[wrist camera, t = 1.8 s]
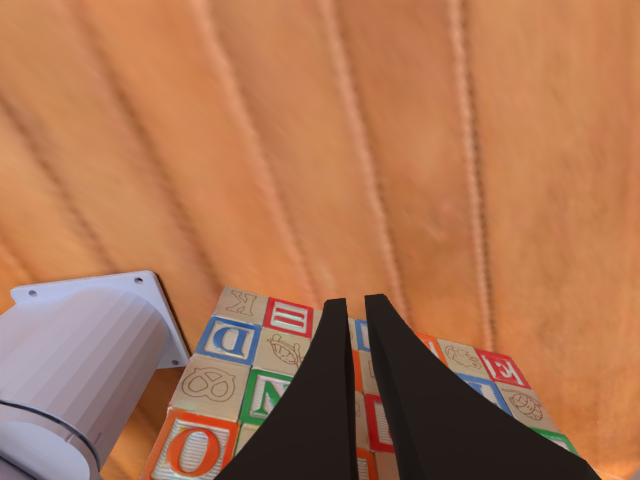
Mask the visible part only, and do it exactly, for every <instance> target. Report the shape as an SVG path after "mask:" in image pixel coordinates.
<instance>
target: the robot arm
mask: <svg viewBox="0 0 640 480" xmlns="http://www.w3.org/2000/svg"><path fill="white" fill-rule="evenodd" d="M138 278H141V279H142V280H143V281H140V280H139V279H138ZM10 294H11V296H12V298H13V299H14V301H15V302H16V304H15V305H14V306H13V307H11V308H10V309H9V310H8V311H6V312H5V313H4V314H2V315H1V316H0V480H104V479H103V478H102V477H101V476H100V474H99V473H100V471H101V469H102V467H103V465H104V464H105V462H106V460H107V458H108V456H109V454H110V453H111V451H112V449H113V447H114V445H115V443H116V442H117V440H118V438H119V436H120V434H121V432H122V431H123V429H124V427H125V425H126V423H127V421H128V420H129V418H130V416H131V414H132V412H133V410H134V409H135V407H136V405H137V403H138V401H139V399H140V398H141V396H142V394H143V392H144V390H145V388H146V387H147V385H148V383H149V381H150V379H151V377H152V376H153V374H154V372H155V370H156V369H164V368H174V367H183V366H187V364H188V362H189V360H190V355H189V353H188V350H187V348H186V346H185V343H184V341H183V338H182V336H181V334H180V331H179V329H178V326H177V324H176V322H175V319H174V317H173V315H172V312H171V310H170V307H169V305H168V303H167V300H166V298H165V295H164V293H163V291H162V288H161V286H160V283H159V281H158V279H157V276H156V275H155V273H153V272H152V271H147V270H145V271H137V272H129V273H121V274H112V275H104V276H96V277H88V278H80V279H71V280H63V281H55V282H47V283H38V284H30V285H22V286H17V287H15V288H13V289H12V290H11V292H10ZM364 297H365V307H366V318H367V328H368V339H369V347H370V353H371V359H372V365H373V371H374V375H375V379H376V382H377V386H378V390H379V394H380V397H381V401H382V405H383V408H384V412H385V416H386V419H387V423H388V427H389V430H390V434H391V438H392V442H393V447H394V451H395V456H396V461H397V467H398V472H399V478H400V480H602V479H601V478H600V477H599V476H598V475H597V473H596V472H595V471H594V470H593V469H592V468H591V466H590V465H589V464H588V463H587V461H586V460H584V459H582V458H581V457H579V456H577V455H575V454H574V453H572V452H570V451H568V450H567V449H565V448H563V447H561V446H560V445H558V444H556V443H554V442H553V441H551V440H549V439H547V438H546V437H544V436H542V435H540V434H539V433H537V432H535V431H534V430H532V429H530V428H529V427H527V426H526V425H524V424H523V423H521V422H520V421H518V420H517V419H515V418H513V417H512V416H510V415H509V414H508V413H506V412H505V411H503V410H502V409H501V408H499V407H498V406H496V405H495V404H494V403H492V402H491V401H490V400H488V399H487V398H485V397H484V396H483V395H481V394H480V393H478V392H477V391H476V390H475V389H473V388H472V387H471V386H470V385H468V384H467V383H466V382H465V381H463V380H462V379H461V378H460V377H459V376H458V375H456V374H455V373H454V372H453V371H452V370H451V369H449V368H448V367H447V366H446V365H445V364H444V363H443V362H442V361H441V360H440V359H439V358H438V357H437V356H436V355H435V354H434V353H433V352H432V351H431V350H430V349H429V348H428V347H427V346H426V345H425V344H424V343H423V342H422V341H421V340H420V339H419V338H418V337H417V336H416V334H415V333H414V332H413V331H412V330H411V329H410V328H409V326H408V325H407V324H406V323H405V322H404V320H403V319H402V318H401V317H400V315H399V314H398V313H397V311H396V310H395V309H394V307H393V306H392V304H391V303H390V301H389V300H388V298H387V296H385V295H384V294H375V295H366V296H364ZM176 360H177V361H176ZM213 480H359V471H358V461H357V448H356V410H355V371H354V362H353V354H352V346H351V338H350V330H349V322H348V314H347V306H346V298H340V299H331V300H327V301H326V302H325V303H324V308H323V312H322V315H321V319H320V321H319V324H318V327H317V330H316V332H315V335H314V337H313V339H312V342H311V344H310V346H309V349H308V351H307V353H306V355H305V357H304V359H303V361H302V363H301V365H300V367H299V368H298V370H297V372H296V374H295V376H294V377H293V379H292V381H291V382H290V384H289V386H288V387H287V389H286V390H285V392H284V394H283V395H282V397H281V398H280V399H279V401H278V402H277V404H276V405H275V407H274V408H273V410H272V411H271V412H270V414H269V415H268V416H267V418H266V419H265V420H264V422H263V423H262V424H261V426H260V427H259V428H258V429H257V430H256V432H255V433H254V434H253V435H252V437H251V438H250V439H249V440H248V441H247V443H246V444H245V445H244V446H243V447H242V449H241V450H240V451H239V452H238V453H237V454H236V456H235V457H234V458H233V459H232V460H231V461H230V462H229V463H228V464H227V465H226V466H225V467H224V468H223V469H222V470H221V471H220V473H219V474H218V475H217V476H216V477H215V478H214V479H213Z"/></svg>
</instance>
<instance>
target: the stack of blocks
mask: <svg viewBox="0 0 640 480" xmlns="http://www.w3.org/2000/svg"><path fill="white" fill-rule="evenodd" d="M322 312H323V311H320V310H315V309H313V308H311V307H307V306H303V305H299V304H295V303H291V302H287V301H283V300H279V299H275V298H271V297H267V296H264V295H260V294H256V293H252V292H248V291H244V290H240V289H236V288H232V287H227V286H225V287H224V288H223V290H222V293H221V295H220V297H219V300H218V302H217V303H216V306H215V308H214V310H213V313H212V316H211V318H210V320H209V322H208V324H207V326H206V328H205V330H204V332H203V335H202V337H201V339H200V341H199V343H198V345H197V347H196V349H195V351H194V354H193V356H191V358H190V360H189V362H188V364H187V366H186V368H185V369H184V372H183V375H182V377H181V379H180V381H179V383H178V385H177V387H176V389H175V391H174V393H173V396H172V398H171V400H170V403H169V405H168V408H167V413H166V420H165V422H164V424H163V426H162V429H161V431H160V433H159V435H158V437H157V440H156V442H155V444H154V446H153V448H152V450H151V453H150V455H149V457H148V459H147V461H146V463H145V466H144V468H143V470H142V472H141V474H140V477H139V479H138V480H213V479H214V478H215V477H216V476H217V475H218V474H219V473H220V471H221V470H222V469H223V468H224V467H225V466H226V465H227V464H228V463H229V462H230V461H231V460H232V459H233V458H234V457H235V456H236V454H237V453H238V452H239V451H240V450H241V449H242V447H243V446H244V445H245V444H246V443H247V441H248V440H249V439H250V438H251V437H252V435H253V434H254V433H255V432H256V430H257V429H258V428H259V427H260V426H261V424H262V423H263V422H264V420H265V419H266V418H267V416H268V415H269V414H270V412H271V411H272V410H273V408H274V407H275V405H276V404H277V402H278V401H279V399H280V398H281V397H282V395H283V394H284V392H285V390H286V389H287V387H288V386H289V384H290V382H291V381H292V379H293V377H294V376H295V374H296V372H297V370H298V368H299V367H300V365H301V363H302V361H303V359H304V357H305V355H306V353H307V351H308V349H309V346H310V344H311V342H312V339H313V337H314V335H315V332H316V330H317V327H318V324H319V321H320V319H321V315H322ZM348 322H349V330H350V338H351V346H352V354H353V362H354V371H355V410H356V448H357V461H358V471H359V480H400V478H399V472H398V467H397V461H396V456H395V451H394V447H393V442H392V438H391V434H390V430H389V427H388V423H387V419H386V416H385V412H384V408H383V405H382V401H381V397H380V394H379V390H378V386H377V382H376V379H375V375H374V371H373V365H372V359H371V353H370V347H369V339H368V328H367V322H366V321H362V320H359V319H352V318H349V317H348ZM414 333H415V332H414ZM415 334H416V336H417V337H418V338H419V339H420V340H421V341H422V342H423V343H424V344H425V345H426V346H427V347H428V348H429V349H430V350H431V351H432V352H433V353H434V354H435V355H436V356H437V357H438V358H439V359H440V360H441V361H442V362H443V363H444V364H445V365H446V366H447V367H448V368H449V369H451V370H452V371H453V372H454V373H455V374H456V375H458V376H459V377H460V378H461V379H462V380H463V381H465V382H466V383H467V384H468V385H470V386H471V387H472V388H473V389H475V390H476V391H477V392H478V393H480V394H481V395H483V396H484V397H485V398H487V399H488V400H490V401H491V402H492V403H494V404H495V405H496V406H498V407H499V408H501V409H502V410H503V411H505V412H506V413H508V414H509V415H510V416H512V417H513V418H515V419H517V420H518V421H520V422H521V423H523V424H524V425H526V426H527V427H529V428H530V429H532V430H534V431H535V432H537V433H539V434H540V435H542V436H544V437H546V438H547V439H549V440H551V441H553V442H554V443H556V444H558V445H560V446H561V447H563V448H565V449H567V450H568V451H570V452H572V453H574V454H575V455H577V456H579V457H580V455H579V454H578V453H577V451H576V450H575V448H574V446H573V445H572V444H571V442H570V441H569V439H568V438H567V437H566V436H565V435H564V434H562V433H561V431H560V429H559V428H558V426H557V425H556V423H555V421H554V420H553V418H552V417H551V415H550V414H549V413H548V411H547V410H546V408H545V406H544V405H543V403H542V402H541V401H540V399H539V397H538V396H537V394H536V393H535V391H532V389H531V387H530V386H529V384H528V382H527V381H526V379H525V378H524V376H523V374H522V373H521V371H520V370H519V368H518V367H517V366H516V364H515V363H514V361H513V360H512V358H511V357H509V356H505V355H501V354H496V353H492V352H487V351H484V350H479V349H473V347H471V346H467V345H463V344H459V343H455V342H451V341H447V340H443V339H435V338H434V337H430V336H427V335H423V334H419V333H415Z"/></svg>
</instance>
